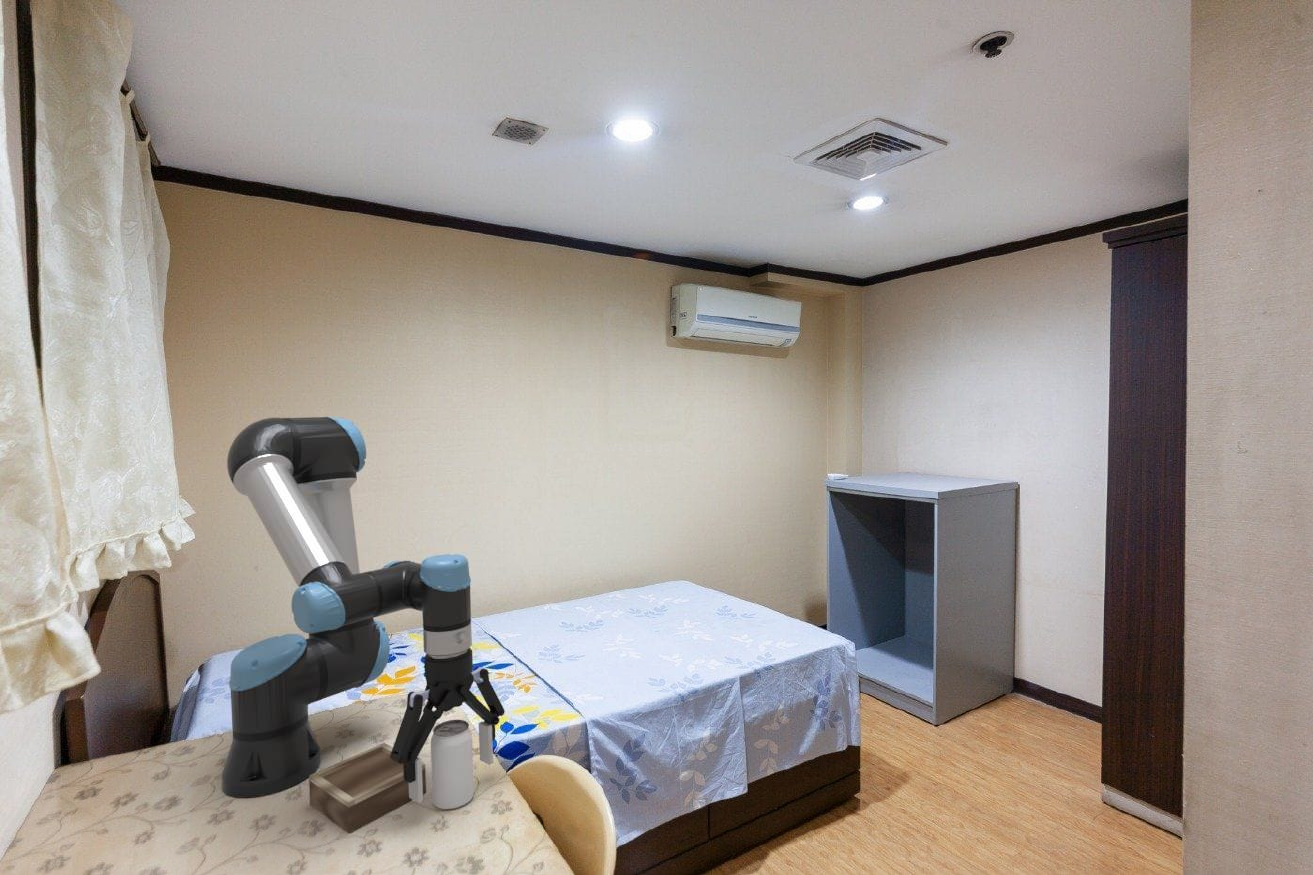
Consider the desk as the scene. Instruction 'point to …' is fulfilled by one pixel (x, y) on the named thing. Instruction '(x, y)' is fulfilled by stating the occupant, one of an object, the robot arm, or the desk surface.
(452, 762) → the can
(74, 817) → the desk surface
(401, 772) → the wooden tray
